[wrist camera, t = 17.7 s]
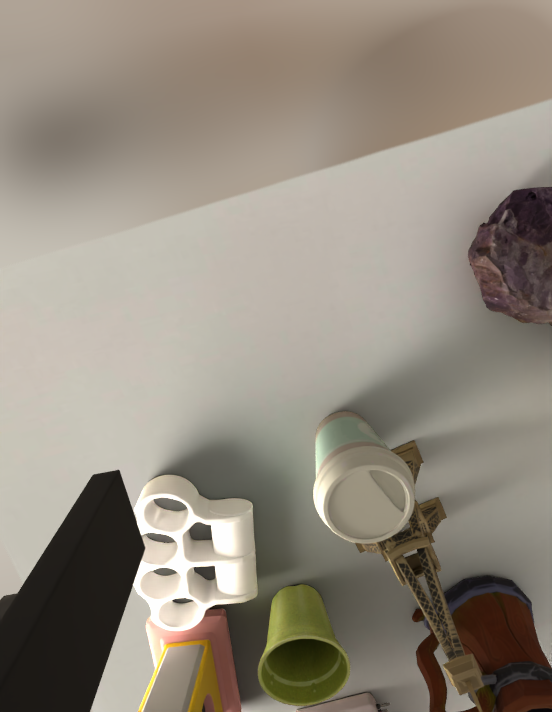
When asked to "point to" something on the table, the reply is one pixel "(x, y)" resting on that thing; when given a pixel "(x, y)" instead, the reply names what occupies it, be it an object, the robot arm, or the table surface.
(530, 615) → the mug
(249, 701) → the table surface
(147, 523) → the white brass knuckles
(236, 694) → the retro desk clock
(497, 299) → the rock
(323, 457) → the coffee cup
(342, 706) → the white electronic device
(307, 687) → the plant pot
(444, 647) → the eiffel tower
